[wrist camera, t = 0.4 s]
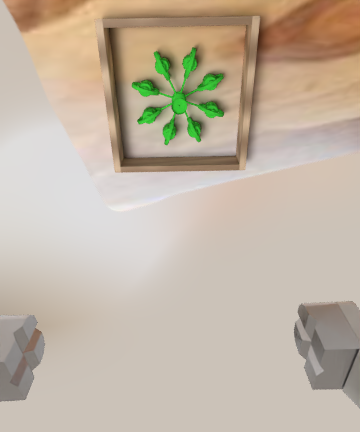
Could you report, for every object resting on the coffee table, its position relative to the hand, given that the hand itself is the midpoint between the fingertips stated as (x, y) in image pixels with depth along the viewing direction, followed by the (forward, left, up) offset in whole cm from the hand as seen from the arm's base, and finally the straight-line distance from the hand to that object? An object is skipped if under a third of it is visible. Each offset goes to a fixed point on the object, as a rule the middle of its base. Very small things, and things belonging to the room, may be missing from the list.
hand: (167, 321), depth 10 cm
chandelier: (+2, +1, -47) cm, 47 cm away
